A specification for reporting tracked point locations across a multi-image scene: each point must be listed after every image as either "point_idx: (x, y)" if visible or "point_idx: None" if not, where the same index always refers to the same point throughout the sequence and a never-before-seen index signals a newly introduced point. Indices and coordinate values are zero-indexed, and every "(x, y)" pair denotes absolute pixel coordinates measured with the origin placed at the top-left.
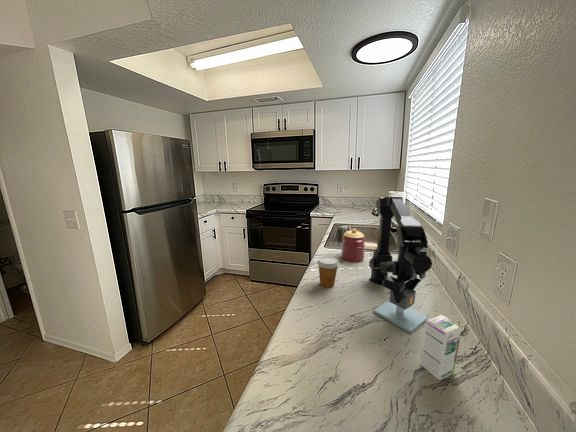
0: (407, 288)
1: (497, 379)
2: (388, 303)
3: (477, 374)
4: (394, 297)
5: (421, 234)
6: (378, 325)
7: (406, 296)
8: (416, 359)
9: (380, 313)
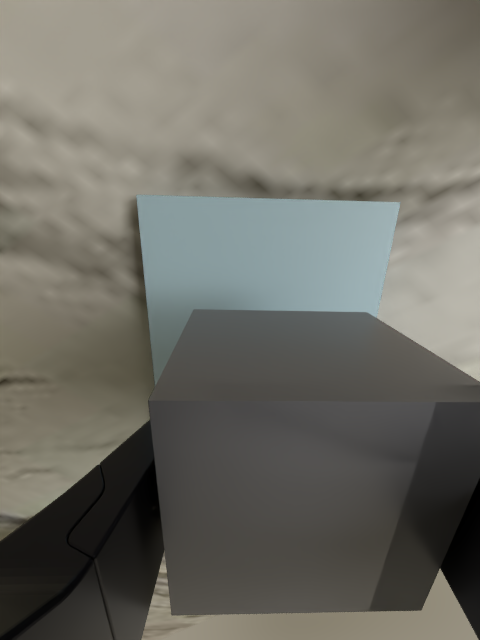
0: (429, 533)
1: (196, 618)
2: (316, 222)
3: (167, 596)
4: (139, 429)
5: None
6: (61, 302)
7: (172, 609)
8: (44, 499)
9: (144, 257)
